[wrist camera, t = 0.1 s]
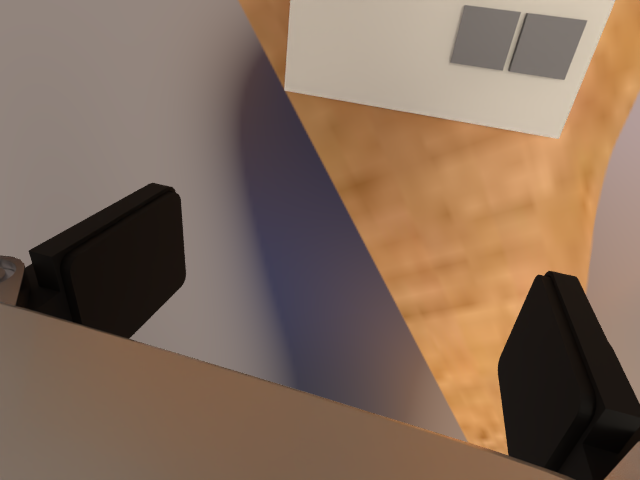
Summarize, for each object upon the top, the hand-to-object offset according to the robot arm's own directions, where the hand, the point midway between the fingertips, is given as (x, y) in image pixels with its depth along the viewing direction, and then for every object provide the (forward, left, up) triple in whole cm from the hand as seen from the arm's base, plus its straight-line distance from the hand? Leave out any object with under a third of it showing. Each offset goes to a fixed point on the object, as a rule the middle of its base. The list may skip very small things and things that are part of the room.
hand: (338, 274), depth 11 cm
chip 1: (-5, +4, -29) cm, 30 cm away
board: (-5, 0, -31) cm, 31 cm away
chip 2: (-5, +9, -29) cm, 31 cm away
